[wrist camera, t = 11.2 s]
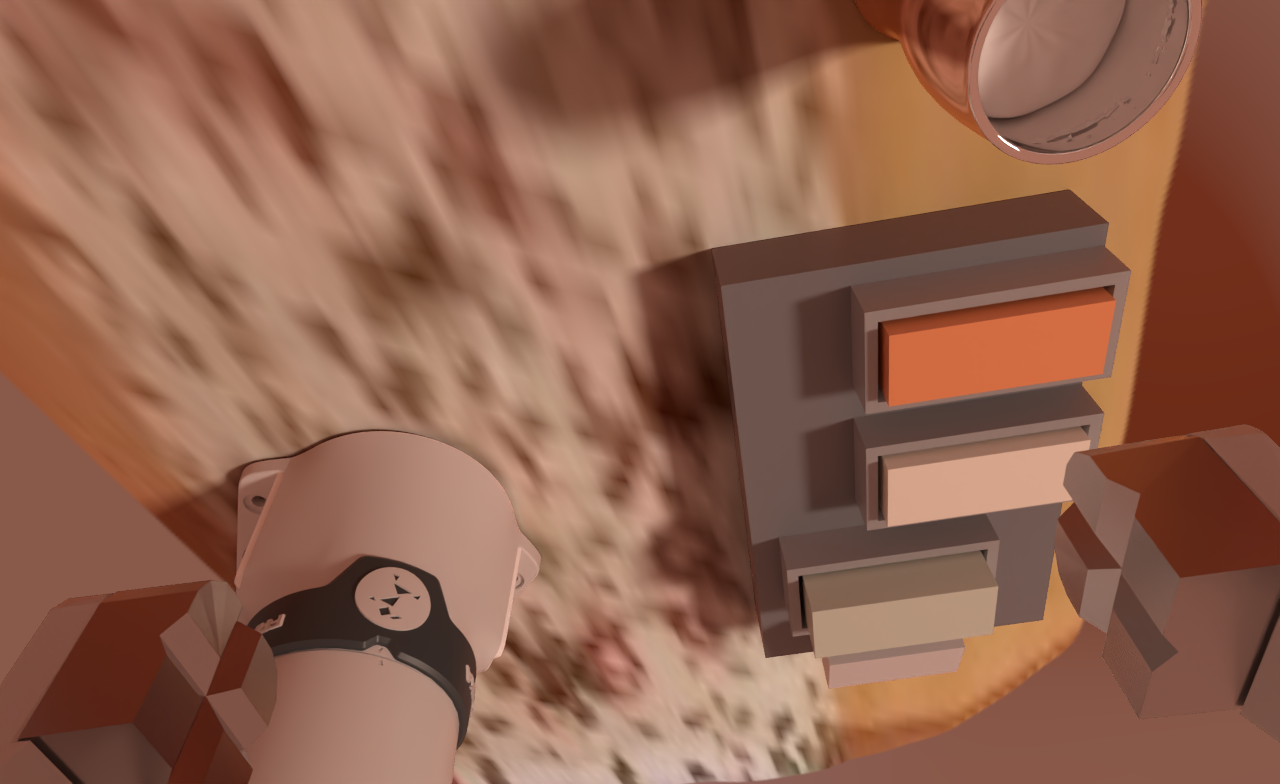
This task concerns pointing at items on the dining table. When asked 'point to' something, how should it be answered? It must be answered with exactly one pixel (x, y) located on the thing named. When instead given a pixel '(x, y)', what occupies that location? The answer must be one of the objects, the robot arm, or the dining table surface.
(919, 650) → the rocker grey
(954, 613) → the bar sage
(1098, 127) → the beer glass
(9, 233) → the dining table surface
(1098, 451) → the robot arm
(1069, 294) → the bar orange
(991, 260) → the panel
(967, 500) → the bar ivory
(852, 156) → the dining table surface
